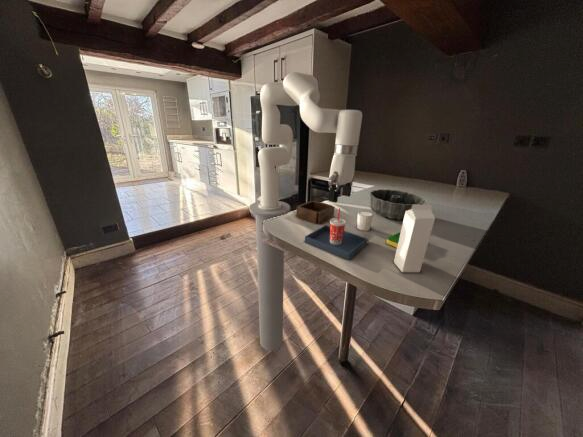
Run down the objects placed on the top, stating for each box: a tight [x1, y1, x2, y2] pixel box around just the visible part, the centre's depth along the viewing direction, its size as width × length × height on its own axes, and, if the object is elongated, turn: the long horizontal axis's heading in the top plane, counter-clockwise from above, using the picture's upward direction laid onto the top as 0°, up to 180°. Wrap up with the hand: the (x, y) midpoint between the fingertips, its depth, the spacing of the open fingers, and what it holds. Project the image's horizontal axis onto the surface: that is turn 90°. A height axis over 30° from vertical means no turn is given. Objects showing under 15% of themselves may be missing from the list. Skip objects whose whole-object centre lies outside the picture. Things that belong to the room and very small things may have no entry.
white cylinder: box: [356, 210, 375, 232], centre depth 104 cm, size 7×7×7 cm
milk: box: [393, 204, 436, 273], centre depth 73 cm, size 6×6×22 cm
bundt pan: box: [369, 189, 426, 221], centre depth 121 cm, size 26×26×10 cm
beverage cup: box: [329, 208, 347, 245], centre depth 88 cm, size 6×6×14 cm
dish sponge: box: [386, 231, 401, 249], centre depth 93 cm, size 7×14×2 cm, turn 128°
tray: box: [304, 224, 369, 261], centre depth 91 cm, size 19×15×2 cm
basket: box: [295, 200, 336, 225], centre depth 116 cm, size 14×14×6 cm
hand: (339, 198), depth 85 cm, fingers open, 9 cm apart
